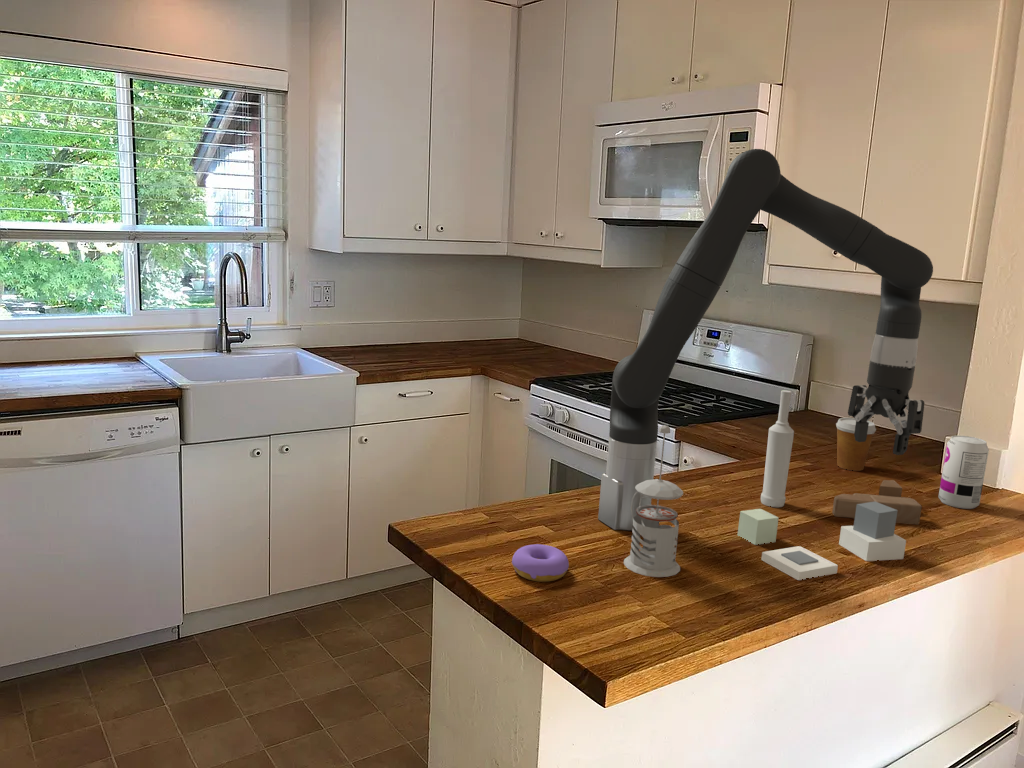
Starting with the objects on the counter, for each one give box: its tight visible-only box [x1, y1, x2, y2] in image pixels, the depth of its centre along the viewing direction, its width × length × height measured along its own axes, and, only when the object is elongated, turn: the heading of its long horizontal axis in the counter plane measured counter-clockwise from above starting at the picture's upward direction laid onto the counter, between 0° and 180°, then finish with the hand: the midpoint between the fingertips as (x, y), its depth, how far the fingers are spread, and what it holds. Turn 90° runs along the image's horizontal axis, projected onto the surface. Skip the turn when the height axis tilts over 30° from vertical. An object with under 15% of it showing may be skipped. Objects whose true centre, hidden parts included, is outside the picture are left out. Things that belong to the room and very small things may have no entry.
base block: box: [838, 525, 907, 562], centre depth 155 cm, size 8×8×4 cm
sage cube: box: [737, 508, 779, 546], centre depth 159 cm, size 5×5×5 cm
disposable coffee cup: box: [835, 417, 877, 472], centre depth 211 cm, size 10×10×12 cm
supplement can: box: [937, 435, 990, 510], centre depth 186 cm, size 8×8×15 cm
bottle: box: [760, 389, 795, 508], centre depth 178 cm, size 5×5×25 cm
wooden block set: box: [832, 479, 922, 526], centre depth 181 cm, size 17×6×18 cm
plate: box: [761, 545, 839, 581], centre depth 147 cm, size 9×9×2 cm
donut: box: [511, 543, 570, 583], centre depth 138 cm, size 10×9×5 cm
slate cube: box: [852, 502, 898, 539], centre depth 155 cm, size 5×5×5 cm
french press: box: [623, 424, 684, 578], centre depth 142 cm, size 10×12×25 cm
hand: (879, 447), depth 152 cm, fingers open, 8 cm apart
